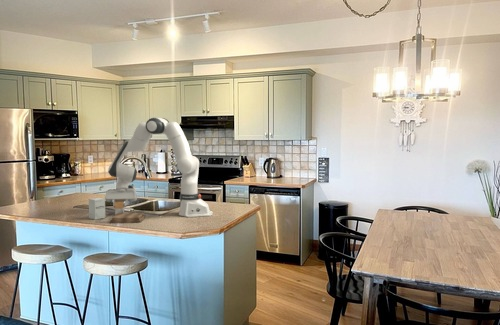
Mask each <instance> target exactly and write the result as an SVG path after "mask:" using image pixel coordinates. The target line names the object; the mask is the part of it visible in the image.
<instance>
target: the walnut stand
mask: <svg viewBox="0 0 500 325" xmlns="http://www.w3.org/2000/svg"><path fill="white" fill-rule="evenodd" d="M145 218H146V214H144V212H124V213H118V214H116V215H115V214H114V216H112V217H111V219H110V220H109V224H140V223H142V222H143V221H144V219H145Z"/></svg>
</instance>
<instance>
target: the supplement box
mask: <svg viewBox="0 0 500 325" xmlns="http://www.w3.org/2000/svg"><path fill="white" fill-rule="evenodd" d="M88 218H89V219H90V220H99V219H105V218H106V200H105V197H95V198H94V197H92V198H88Z"/></svg>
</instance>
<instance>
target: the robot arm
mask: <svg viewBox="0 0 500 325" xmlns="http://www.w3.org/2000/svg"><path fill="white" fill-rule="evenodd" d="M162 134H164V135H165V136H166V137H167V140H168V142H169V145H170V146H171V148H172V151H173V154H174V157H175V161H176V164H177V165H176V166H177V170H178V171H179V173H181V180H180V194H179V201H180V206H179V212H178V216H181V217H186V218H198V217H211V216H212V215H213V211H212V210H210V207H209V204H208V203H207V202H206V201H204V200H203V199H202V195H201V193H199V190H198V183H199V182H198V180H199V179H198V178H199V170H200V169H199V168H200V160H199V158H198V157H197V156H194V155H192V152H191V149H190V144H189V141H188V140H187V137H186V134H185V133H184V131H183V129H182V128H181V126H180V124H179V123H178V122H177V121H169V120H168V119H167V118H164V117H157V116H156V117H151V118H149V119H147V121H146V122H145V121H141V122H139V123H138V125H137V126H136V129H135V130H134V131H133V135H132V137H131V138H130V139H129V140H127V141H125V142H124V143H123V144H122V146H121V148H120V149H119V151H118V153H117V154H116V156H114V157H115V158H114V159H113V160H112V163H110V165H108V170H107V172H108V174H109V176H110V177H112V178H117V183H116V186H115V188H113V189H112V188H111V189H110V188H109V189H108V190H106V193H105V196H104V199H105V202H107V203H111V202H112V206H113V207H114V208H115V202H116V201H124V203H123V207H124V208H126V206H127V204H128V203H129V202H136V201H137V198H138V195H137V189H136V187H135V185H131V183H133V182H134V181H135V180H136V178H137V174H138V170H137V168H136V167H134V166H132V165H127V164H123V163H121V162H122V160H123V159H124V157H125V155H126V154H128V153H129V152H130V153H131V152H141V151H143V150H145V149H147V147H148V146H149V142H150V141H151V137H152V135H162Z"/></svg>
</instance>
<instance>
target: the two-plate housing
mask: <svg viewBox="0 0 500 325" xmlns="http://www.w3.org/2000/svg"><path fill="white" fill-rule="evenodd" d="M123 203H125V202H124V201H116V202H115V207H114V216H115V215H116V214H118V213H125V207H123Z"/></svg>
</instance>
